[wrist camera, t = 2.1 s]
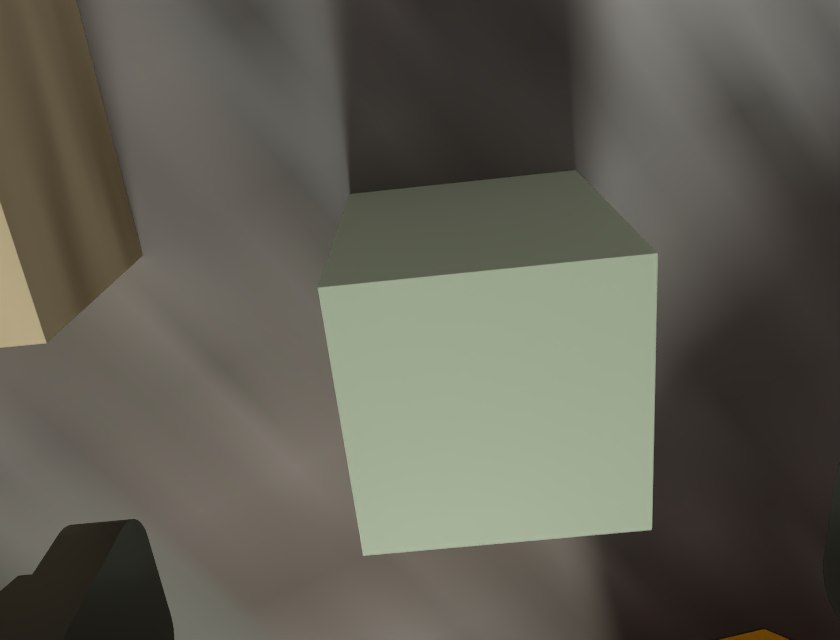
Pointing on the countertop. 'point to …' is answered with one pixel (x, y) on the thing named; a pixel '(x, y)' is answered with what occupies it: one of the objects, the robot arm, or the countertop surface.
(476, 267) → the sage block
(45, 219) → the oak block
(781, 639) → the potion bottle
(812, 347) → the countertop surface
